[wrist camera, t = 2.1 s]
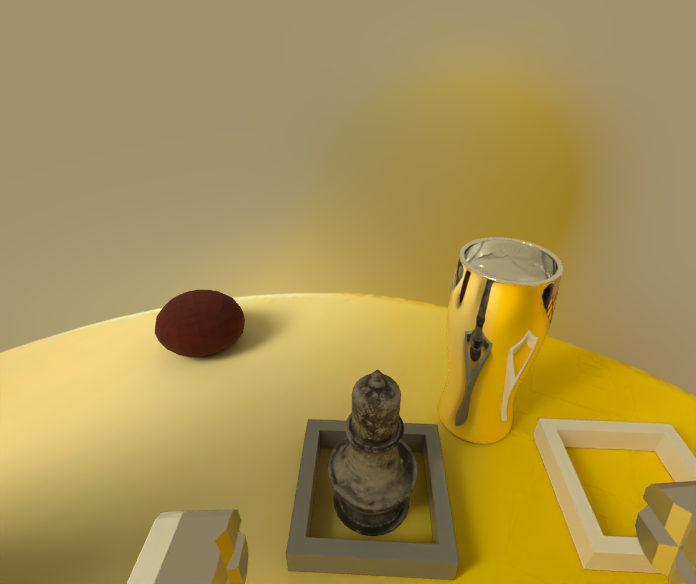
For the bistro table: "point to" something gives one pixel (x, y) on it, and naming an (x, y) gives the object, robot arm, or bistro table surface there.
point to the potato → (199, 323)
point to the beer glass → (495, 332)
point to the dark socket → (363, 553)
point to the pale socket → (572, 498)
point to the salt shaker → (373, 460)
